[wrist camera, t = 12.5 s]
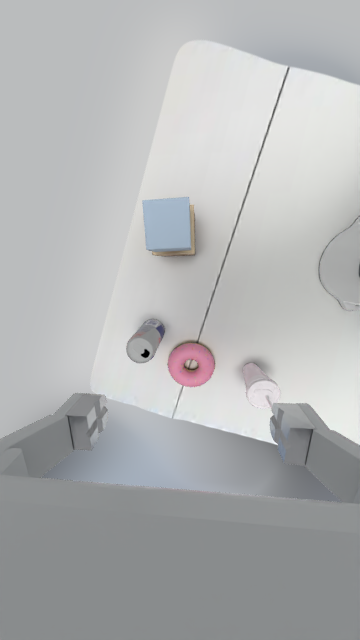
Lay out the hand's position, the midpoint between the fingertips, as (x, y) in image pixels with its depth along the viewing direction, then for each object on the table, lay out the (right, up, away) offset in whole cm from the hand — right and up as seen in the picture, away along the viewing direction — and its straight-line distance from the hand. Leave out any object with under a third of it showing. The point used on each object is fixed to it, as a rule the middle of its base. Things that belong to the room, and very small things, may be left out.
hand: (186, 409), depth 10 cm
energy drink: (-7, +2, +38) cm, 38 cm away
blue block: (-2, +19, +22) cm, 29 cm away
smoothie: (+17, -8, +39) cm, 43 cm away
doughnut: (+2, -6, +39) cm, 40 cm away
